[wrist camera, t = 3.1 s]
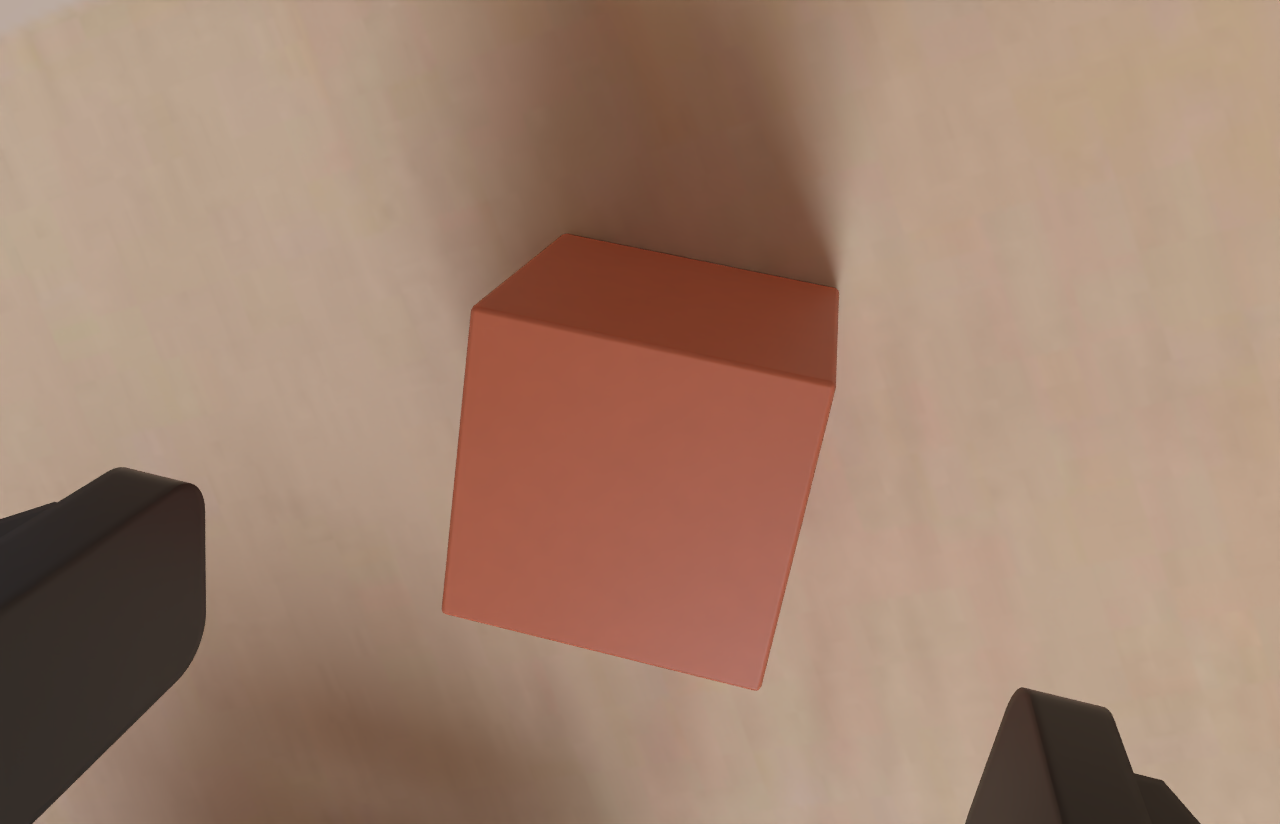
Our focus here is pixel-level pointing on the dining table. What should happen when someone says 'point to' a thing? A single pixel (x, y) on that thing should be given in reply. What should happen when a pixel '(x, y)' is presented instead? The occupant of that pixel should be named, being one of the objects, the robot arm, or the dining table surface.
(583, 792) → the dining table surface
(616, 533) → the block
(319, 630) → the dining table surface
